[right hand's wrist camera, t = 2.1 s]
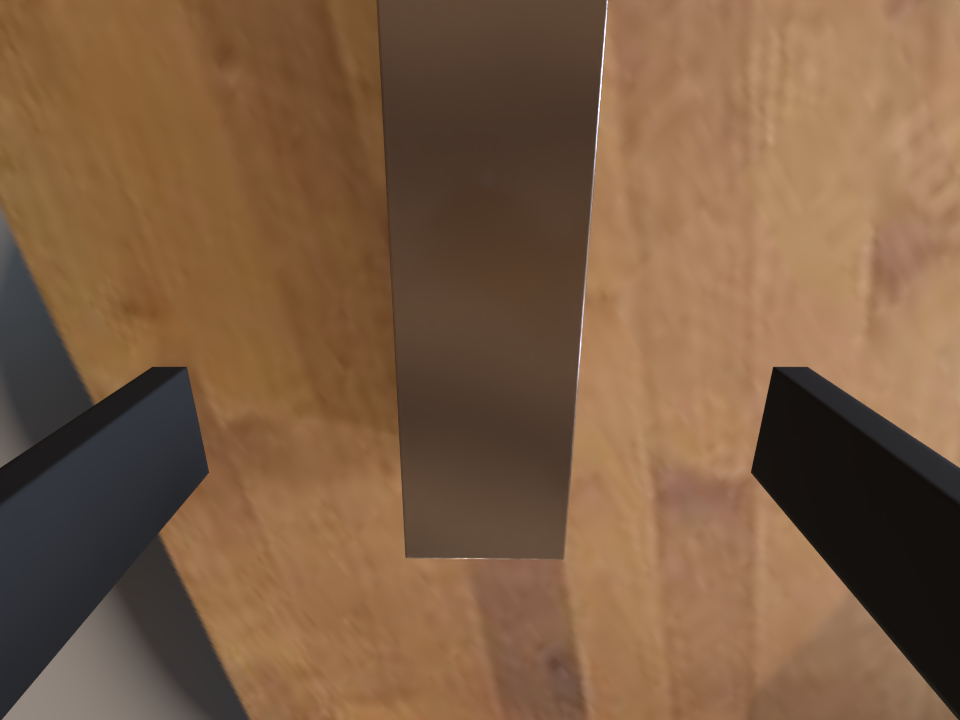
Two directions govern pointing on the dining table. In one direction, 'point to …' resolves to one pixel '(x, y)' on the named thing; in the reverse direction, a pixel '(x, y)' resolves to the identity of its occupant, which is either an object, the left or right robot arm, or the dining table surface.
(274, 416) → the dining table surface
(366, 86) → the dining table surface
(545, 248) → the board
